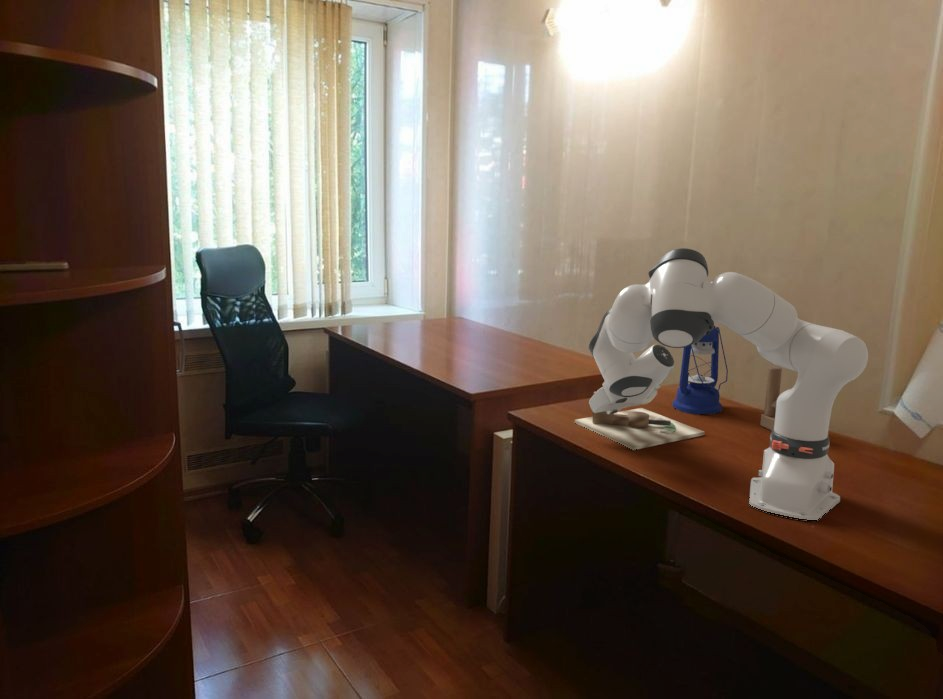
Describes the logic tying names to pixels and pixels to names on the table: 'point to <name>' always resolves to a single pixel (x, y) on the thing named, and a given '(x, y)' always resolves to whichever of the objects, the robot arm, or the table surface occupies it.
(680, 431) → the tuner board
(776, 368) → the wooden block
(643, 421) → the brown wooden long piece
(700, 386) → the lantern
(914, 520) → the table surface
